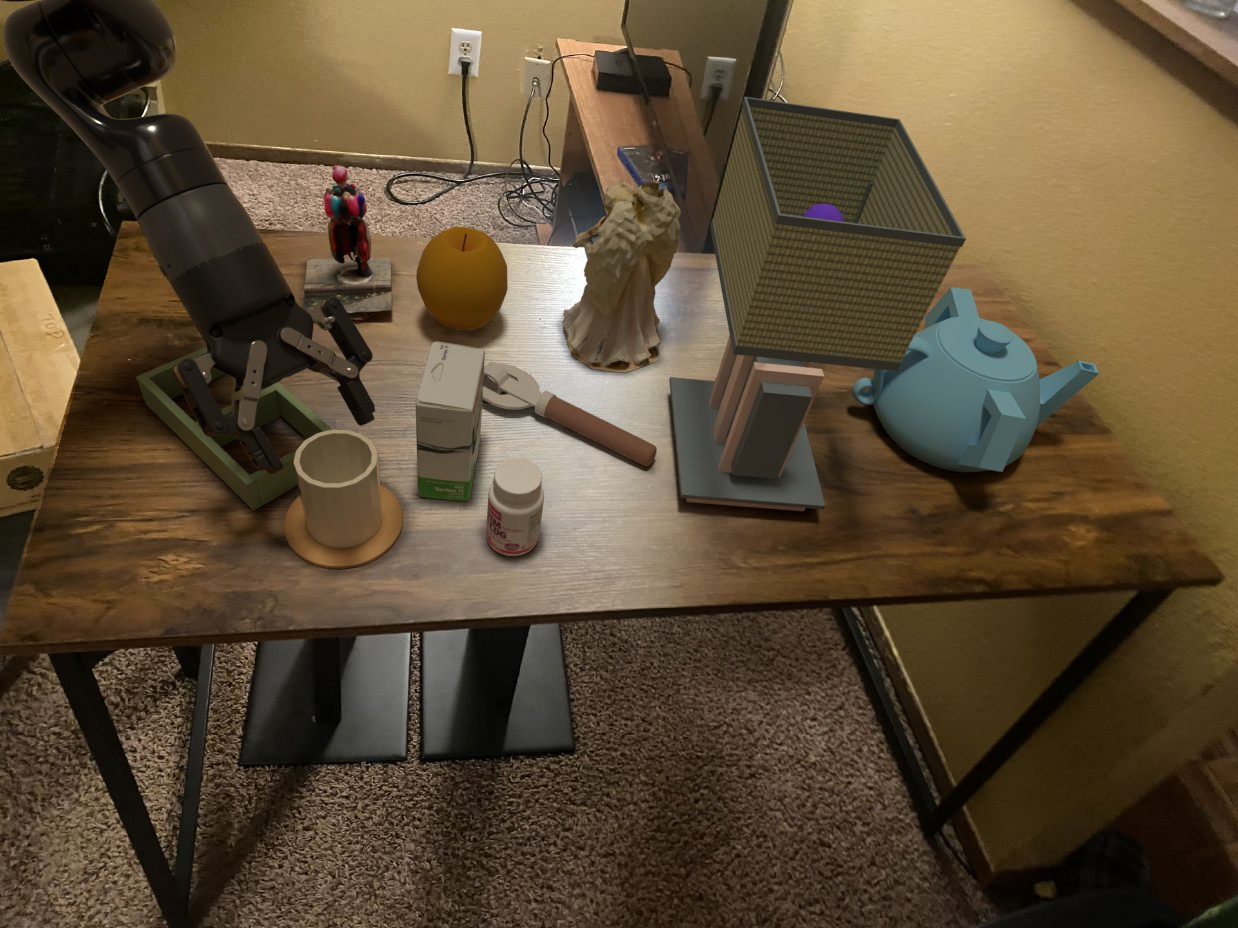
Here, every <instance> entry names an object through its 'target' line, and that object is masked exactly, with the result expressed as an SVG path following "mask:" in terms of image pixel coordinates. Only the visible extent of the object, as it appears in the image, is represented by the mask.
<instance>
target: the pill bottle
mask: <svg viewBox="0 0 1238 928" xmlns="http://www.w3.org/2000/svg"><path fill="white" fill-rule="evenodd" d="M542 483H543V475H542V471H541V469H540V468H539V467H538V465H537V464H536V463H534V462H532V461H530V460H528V459H526V458H521V457H513V458H509V459H506V460H504V461H502V462H500V464H498V465H497V467H496V468H495V469H494V473H493V481H492V482H491V484H490V486H489V488H488V495H487V512H486V524H485V525H486V527H485V537H486V540H487V543H488V545H489V546H490V547H491V548H492V550H494V551H496V552H497V553H499V554H501V555H504V556H508V557H518V556H523V555H526V554H527V553H529V552H530V551H532V550H533V549H534V548H535V546H536V545H537V543H538V541H539V538H540V533H541V532H540V531H541V524H542V518H543V509H544V503H545V502H544V501H545V491H544V488H543V486H542V485H543V484H542Z"/></svg>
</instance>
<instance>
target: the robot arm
mask: <svg viewBox="0 0 1238 928" xmlns="http://www.w3.org/2000/svg"><path fill="white" fill-rule="evenodd" d="M0 1H1V2H9V3H15V2H16V3H18V2H19V3H21V2H32V1H34V0H0ZM2 39H3V45H4V49H5V54H6V55H7V58H8V60H9V63H10V64H11V65H12V67H13V69H14V70H15V71H16V73H17V74H18V75H19V77H20V78H21V79H22V80H23V81H24V82H25V83H26V85H28V86H29V88H30V89H31V90H32V91H33V92H34V93H35V94H36V95H37V96H39V98H40V99H41V100H43V102H45V103H46V105H48V106H49V107H50V109H52V110H53V111H54V112H55V113H56V114H57V115H58V116H59V117H60V118H61V119H62V120H63V121H64V122H65V123H66V124H67V125H68V126H69V127H70V128H71V129H72V130H73V132H74V133H75V134H76V135H77V136H78V137H79V138H80V140H82V142H84V145H86V146H87V148H89V150H90V151H91V152H92V153H93V155H94V156H95V157H96V158H97V160H98V161H99V163H100V164H101V166H103V168H104V169H105V171H106V172H107V174H108V175H109V176H110V178H111V180H112V181H113V183H114V185H115V186H116V187H117V189H118V191H119V193H120V195H121V197H122V198H123V200H124V201H125V203H126V205H127V207H128V208H129V210H130V211H131V214H132V215H133V217H134V218H135V221H137V224H138V226H139V227H140V229H141V232H142V233H143V236H144V238H145V241H146V243H147V245H148V248H149V250H150V251H151V254H152V255H153V257H154V259H155V261H156V263H157V264H158V268H159V271H160V272H161V274H162V276H163V278H166V280H167V281H168V283H169V284H170V287H172V289H173V291H174V293H175V294H176V296H177V298H178V299H179V301H180V303H181V304H182V306H183V308H184V310H185V311H186V313H187V315H188V317H189V318H190V319H191V321H192V323H193V324H194V326H195V328H196V330H197V331H198V333H199V334H200V336H201V337H202V339H203V340H204V343H205V347H207V354H205V355H202V356H200V357H197V358H194V359H190V358H185V359H183V360H181V361H180V362H179V363H177V364H176V365H175V366H174V367H173V368H172V374H173V376H174V378H175V380H176V382H177V384H178V385H179V387H180V389H181V391H182V393H183V394H182V395H183V398H184V399H185V401H186V402H187V404H188V407H189V408H190V410H191V412H192V414H193V416H194V417H195V419H196V421H198V423H199V425H200V427H201V429H202V431H203V432H204V434H205V435H206V436H208V437H215V436H222V435H233V436H235V437H236V438H237V439H236V440H238V442H239V443H240V445H241V447H242V448H243V450H244V452H245V454H246V455H247V456H248V458H249V460H250V461H251V463H252V465H253V467H254V468H256V469H257V471H258V470H260V471H262V470H266V471H267V472H268V473H269V474H274V473H277V472H278V471H280V470H282V469H284V467H283V464H282V462H281V461H280V459H281V458H280V457H279V456H278V454H277V452H276V451H275V449H274V447H273V446H272V444H271V442H270V441H269V439H268V437H267V435H266V434H265V431H264V430H263V428H262V426H261V427H257V428H256V427H255V425H254V424H255V417H256V409H257V403H258V401H259V398H260V393H261V388H263V389H265V388H267V387H269V386H271V385H273V384H275V383H277V382H279V383H280V382H281V381H282V380H283V379H284V378H290V377H292V376H295V375H297V374H298V373H300V372H303V371H304V370H309V371H311V372H313V373H319V374H321V375H323V376H325V377H327V378H329V379H331V380H333V381H335V382H337V383H338V384H339V386H337V387H336V389H337V391H338V392H339V394H340V396H341V397H342V399H343V401H344V403H345V405H346V407H347V408H348V410H349V412H350V413H351V415H352V417H353V419H354V421H355V423H356V424H357V425H358V426H361V427H362V426H364V425H365V426H366V425H367V424H370V423H371V422H373V421H375V415H374V414H373V413H375V412H376V406H375V403H374V401H373V400H372V398H371V396H370V394H369V393H368V391H367V389H366V387H365V385H364V383H363V381H362V380H361V377H360V373H361V370H362V369H363V368H364V367H365V366H367V364H368V363H369V362H371V361H372V360H373V358H374V357H373V355H374V354H373V352H372V351H371V348H370V347H369V345H368V343H367V342H366V340H365V339H364V337H363V335H362V334H361V332H360V331H359V329H358V327H357V325H356V324H355V323H354V321H353V319H351V318H350V316H349V315H348V313H347V311H346V310H345V308H344V306H343V305H342V303H341V301H340V300H339V299H338V298H336V297H330V298H328V299H326V300H325V301H323V302H322V303H321V304H319V305H318V306H316V307H315V308H313V309H311V310H309V311H306V310H304V309H303V306H301V305H299V303H298V302H297V300H296V298H295V296H294V293H293V291H292V289H291V286H290V285H289V284H288V282H287V279H286V278H285V277H284V275H283V273H282V271H281V269H280V268H279V266H278V264H277V262H276V261H275V259H274V257H273V255H272V253H271V251H270V250H269V247H268V246H267V245H266V242H265V241H264V239H263V237H262V236H261V234H260V232H259V230H258V228H257V226H256V224H255V223H254V221H253V219H252V218H251V216H250V214H249V212H248V211H247V209H246V207H244V205H243V203H242V202H241V201H240V200H239V199H238V197H237V195H236V194H235V193H234V191H233V190H232V188H231V186H230V185H229V183H228V181H227V180H226V178H225V177H224V174H223V172H222V171H221V169H220V166H219V165H218V164H217V162H216V160H215V159H214V157H213V155H212V153H211V152H210V148H209V147H208V146H207V144H206V142H205V140H204V138H203V137H202V135H201V133H200V132H199V130H198V128H197V127H196V126H195V124H194V123H193V122H192V121H191V120H190V119H189V118H187V117H185V116H184V115H180V114H177V113H157V114H150V115H144V116H138V117H131V118H115V117H113V116H111V115H110V114H109V113H108V112H107V110H106V108H105V107H104V105H105V104H107V103H109V102H111V101H115V100H116V99H119V98H122V97H124V96H125V95H128V94H130V93H133V92H135V91H137V90H140V89H142V88H144V87H147V86H149V85H151V84H154V83H156V82H159V81H160V80H163V79H164V78H165V77H167V76H168V75H170V73H172V71H173V70H174V67H175V65H176V62H177V57H178V48H177V40H176V37H175V34H174V31H173V29H172V27H171V25H170V23H169V21H168V19H167V18H166V16H165V15H164V13H163V12H162V10H161V9H160V8H159V6H158V5H157V4H156V3H155V2H154V1H153V0H36V1H35V2H32V3H30V4H27V5H25V6H22V7H20V8H17V9H16V10H15V11H13V12H11V13H10V14H9V15H8V16H7V18H6V19H5V22H4V25H3V30H2ZM314 324H316V325H317V326H318V327H319V329H321V330H323V331H327V332H328V333H329V334H330V336H331V337H332V339H333V340H334V343H335V344H336V345H337V347H338V349H339V351H340V352H341V354H342V355H343V357H342V356H338V355H337V354H336V352H335V351H333V350H331V349H330V348H328V347H326V346H325V345H322V344H320V343H318V342H316V341H315V340H313V334H314ZM212 366H213V367H214V368H216V369H218V370H220V371H222V372H224V373H226V374H225V375H228V376H229V377H232V378H233V382H232V390H231V397H230V403H231V405H232V408H231V415H230V417H226V418H225V417H224V415H223V413H222V411H221V408H220V405H219V404H218V402H217V399H216V398H215V396H214V394H213V392H212V391H211V388H210V386H209V385H208V384H210V383H211V379H212V375H211V372H210V370H211V367H212Z"/></svg>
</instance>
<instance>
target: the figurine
mask: <svg viewBox="0 0 1238 928" xmlns="http://www.w3.org/2000/svg"><path fill="white" fill-rule="evenodd" d="M660 185H661V182H659V180H654V181H648V182H644V183H642V184H641V185H640V186H639V187H638V188H635V187H634V185H632V183H630V182H623V181H618V182H616V183H615V184H613V185H611V186H608V187H607V188H606V192H605V194H604V197H603V198H602V202H603V207H604V209H605V210H606V211H607V214H606V215H605V216H602V217H601V218H600V219H599V221H598V222H597V223H596V224H595V225H594V226H592V227H590V228H589V229H588V230H586V231H582V232H580V233H578V234H577V236H576V238H575V240H574V242H573V245H572V247H573V248H575V249H578V248H580V247H581V248H582V247H583V249H584V253H585V257H586V263H585V266H584V268H583V276H584V277H585V282H586V285H585V286H584V288H583V293H582V295H581V297H580V300H579V301H578V302H576V303H574V305H572V307H570V308H569V309H563V313H562V316H563V318H564V322H563V324H562V327H563V330H564V334H565V337H566V341H567V342H566V344H567V346H568V348H569V351H570V353H571V356H573V358H575V359H577V360H578V361H580V362H581V363H583V364H584V365H586V366H587V367H589V368H590V369H592V370H599V371H606V372H614V373H615V372H616V373H624V374H625V373H629V372H631V371H634V370H637V369H640V368H642V367H645V366H647V365H650V364H653V363H655V362H656V363H657V362H658V358H657V354H656V352H655V351H656V350H655V348H654V347H656V346H658V345H659V344H661V339H660V337H659V335H658V333H657V330H656V329H657V327H658V326H659V325H660V324H661V320H660V318H659V317H658V315H657V312H656V308H655V298H656V294H657V293H656V287H657V285H658V284H659V283H660V282H661V281H663V279H664V278H665V276H666V274H667V273H668V272H669V270H670V269H671V267H672V262H673V259H674V256H675V254H676V253H677V250H678V246H679V244H680V240H681V239H680V234H679V233H680V231H681V224H680V222H679V221H680V220H679V218H680V217H681V214H682V213H681V208H680V207H679V205H678V204H677V203H676V202H675V199H674V196H673V194H672V193H671V192H670V191H669V189H668V186H667V185H664V189H663V188H662V187H661V186H660ZM594 238H596V240H595V241H593V239H594ZM618 361H619V362H618Z"/></svg>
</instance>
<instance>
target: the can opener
mask: <svg viewBox="0 0 1238 928" xmlns="http://www.w3.org/2000/svg"><path fill="white" fill-rule="evenodd" d="M540 391H541V389H540V385H539V383H538V382H537V380H536V379H535V377H533V376H532V375H531V374H529V373H528V372H527V371H525V370H523V369H521V368H518V367H516V366H515V365H511V364H507V363H501V362H500V363H499V362H496V361H490V362H488V363H486V365H484V379H483V398H482V400H484V401H486V402H487V403H489V404H491V405H492V406H494V407H498V408H502V409H504V410H505V409H506V410H516V411H517V410H519V411H520V410H523V409H527V408H530V407H534V413H535V414H537V415H539V416H540V417H543V418H548V419H550V420H552V421H553V422H556V423H557V424H560V425H562V426H563V427H565V428H567V429H570V430H572V431H573V432H575V433H578V434H580V435H582V436H584V437H586V438H587V439H590V440H592V441H594V442H595V443H597V444H599V445H601V446H604V447H606V448H607V449H610V450H611V451H614V452H615V453H618V454H620V455H622V456H624V457H626V458H628V459H630V460H632V461H634V462H636V463H638V464H640V465H642V466H645V467H647V466H649V465H650V466H651V464H652V463H653V461H654V460H655V457H656V455H657V450H658V449H657V446H656V445H655V444H654V443H651V442H649V441H647V440H645V439H643V438H640V437H639V436H637V435H634V434H633V433H632V432H631V433H630V432H629V431H627V430H624V429H623V428H621V427H619V426H617V425H615V424H613V423H611V422H608V421H607V420H605V419H602V418H600V417H599V416H596V415H595V414H593V413H590V412H588V411H587V410H584V409H582V408H580V407H578V406H576V405H574V404H572V403H571V402H568V401H566V400H564V399H562V398H560V397H557V395H556V394H554V393H552V392H550V391H549V390H544V391H543V392H540ZM502 393H506V394H502Z"/></svg>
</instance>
